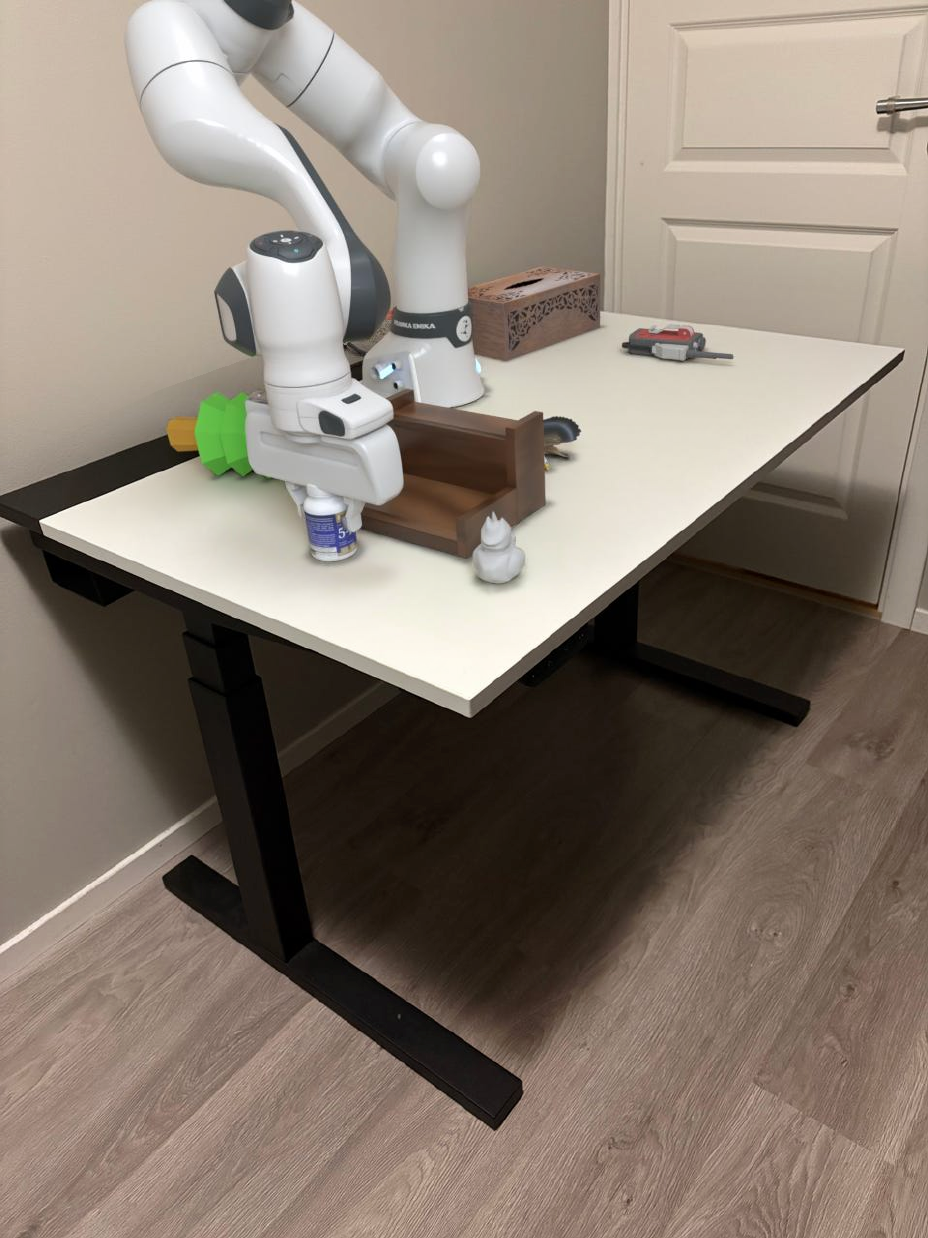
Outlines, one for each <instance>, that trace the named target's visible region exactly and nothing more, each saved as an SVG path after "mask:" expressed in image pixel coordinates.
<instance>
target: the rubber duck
mask: <svg viewBox="0 0 928 1238" xmlns="http://www.w3.org/2000/svg"><path fill="white" fill-rule="evenodd" d="M516 544H517V536H516V534H514V533H512V528H511V527H510V526H509V524H508V523H507V522H506V521H505V520H504V519H503V518H501V520H497V517H496V515H495V513H494V512H493V513H492V519H491V518H490V517H489V516H488V517H487V519H486V521H485V523H484V525H483V527H482V529H481V544H480V545H479V546H478V547H477V548H476V549H475V550H474V552H473V555H472V557H471V558H472V559H471V560H472V565H473V568H474V570H475V571H476V574H477V576H478V578H479V579H481V580H483V581H485V582H487V583H491V584H505V583H507V582H511V581H512V580H513V578H515V577H517V576H518V575H519V574H520V573H521V572H522V570H523V568H524V567H525V565H526V554H525V553H526V552H524V550H523V549H522V548H520V547H517V545H516Z"/></svg>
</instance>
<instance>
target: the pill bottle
mask: <svg viewBox="0 0 928 1238" xmlns="http://www.w3.org/2000/svg"><path fill="white" fill-rule="evenodd" d="M306 489H307V493H308V495H309V496H308V497H307V498H306V499H305V501H304V513H305V518H304V520H305V525H306V531H307V537H308V543H309V549H310V553H311V556H313V558H314V559H316V560H318V561H322V562H338V561H342V560H346V559H348V558H350V557H351V556H353V555H355V553H356V552H357V550H358V539H357V533H356V532H357V531H355V532H351V531H348V530H344V529H342V527H341V524H342V523H341V521H340V516H341V515H342V514H345V513H346V512H347V509H348V506H349V505H346V504H345V503H344V498H343V496H340V495H336V494H333V493H329V492H325V491H321V490H319V489H318V488H317V487H316V486H314V485H311V484H307V486H306Z"/></svg>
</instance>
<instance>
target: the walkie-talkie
mask: <svg viewBox="0 0 928 1238" xmlns="http://www.w3.org/2000/svg"><path fill="white" fill-rule="evenodd" d="M694 329H695V328H694V327H693V326H691V325H684V324H683V325H681V324H672V323H671V324H668V325H666V326H665V327H663V328H657V325H656V324H653V325H652V326H650V327H649V328H643V327H639V328H637V329H635V330H634V331H633V332H631V333H630V334H629V336H628V341H623V342H622V343H621V348H622V349H628V352H629V353H630V354H632V355H640V356H642V355H643V356H651V357H652V356H653V357H657V358H659V359H664V360H673V361H683V362H684V361H685V360H686V359H687V360H688V359H693V358H699V359H708V360H709V359H711V360H717V359H722V360H723V359H724V360H734V355H733V354H732V353H723V352H713V351H703V350H704V349H705V347H706V343H707V340H706V337H705V336H704V333H702V332H697V331H695V330H694Z"/></svg>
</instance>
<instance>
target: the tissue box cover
mask: <svg viewBox="0 0 928 1238" xmlns="http://www.w3.org/2000/svg"><path fill="white" fill-rule="evenodd" d="M467 287H468V286H467ZM468 300H469V301H470V302H471V306H472V317H473V332H472V342H473V348H474V354H475V356H476V355H477V356H481V357H486V358H491V359H494V360H499V361H504V362H507V361H511V360H513V359H517V358H519V357H522V356H524V355H527V354H530V353H533V352H536V351H538V350H541V349H544V348H547V347H549V346H552V345H555V344H558V343H561V342H564V341H567V340H569V339H572V338H575V337H577V336H580V335H583V334H585V333H589V332H591V331H595V330H597V329H600V328H601V273H597V272H590V271H582V270H574V269H567V268H558V267H553V266H545V265H544V266H543V265H542V266H539V267H535V268H531V269H528V270H524V271H520V272H517V273H513V274H511V275H507V276H503V277H500V278H497V279H493V280H489V281H486V282H482V283H479V284H474V285H472V286H469V287H468Z"/></svg>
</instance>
